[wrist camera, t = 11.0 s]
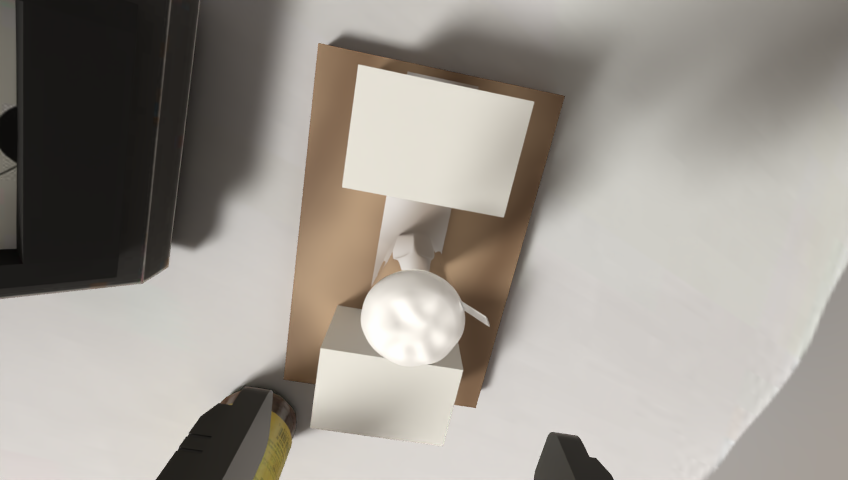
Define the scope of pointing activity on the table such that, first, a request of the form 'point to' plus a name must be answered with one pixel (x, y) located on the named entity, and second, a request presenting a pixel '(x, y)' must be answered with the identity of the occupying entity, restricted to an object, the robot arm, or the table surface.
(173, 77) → the voltmeter
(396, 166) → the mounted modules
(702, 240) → the table surface
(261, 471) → the sauce bottle
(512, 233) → the rail board
